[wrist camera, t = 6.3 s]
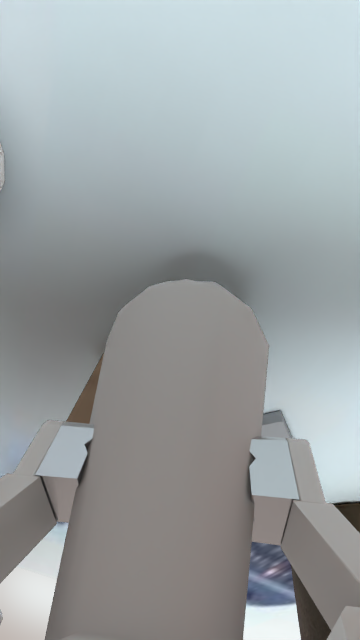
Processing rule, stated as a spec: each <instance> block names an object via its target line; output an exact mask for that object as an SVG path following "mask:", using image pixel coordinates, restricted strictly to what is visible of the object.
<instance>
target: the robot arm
mask: <svg viewBox="0 0 360 640" xmlns="http://www.w3.org/2000/svg"><path fill="white" fill-rule="evenodd" d="M93 432H94V424H86V423H76V422H65V421H54V420H47V421H46V422H45V423H44V424H43V425H42V426H41V428H40V429H39V431H38V433H37V434H36V436H35V438H34V439H33V441H32V443H31V444H30V446H29V448H28V449H27V451H26V453H25V454H24V456H23V458H22V459H21V461H20V463H19V464H18V466H17V468H16V469H15V471H14V473H13V474H6V475H4V476H3V477H2V478H0V583H1V582H2V581H3V580H4V579H5V578H6V577H7V576H8V575H9V574H10V573H11V572H12V570H13V569H14V568H15V567H16V566H17V565H18V564H19V563H20V562H21V561H22V560H23V559H24V558H25V557H26V556H27V555H28V554H29V553H30V551H31V550H32V549H33V548H34V547H35V546H36V545H37V544H38V543H39V542H40V541H41V540H42V539H43V538H44V537H45V536H46V535H47V534H48V533H49V531H50V530H51V529H52V528H53V527H54V526H55V525H56V524H57V522H69V520H70V515H71V510H72V505H73V501H74V496H75V491H76V489H77V488H78V487H79V485H80V482H81V479H82V475H83V472H84V469H85V465H86V462H87V459H88V453H87V449H88V447H89V445H90V443H91V441H92V438H93ZM250 454H251V456H252V459H253V463H252V464H251V465H250V467H249V478H250V499H251V502H252V503H253V504H254V505H255V509H254V520H253V531H252V542H259V543H267V544H274V545H281V549H282V550H283V552H284V554H285V555H286V557H287V559H288V560H289V562H290V563H291V565H292V567H293V568H294V570H295V572H296V573H297V575H298V577H299V578H300V580H301V582H302V583H303V585H304V586H305V588H306V590H307V591H308V593H309V595H310V596H311V598H312V600H313V601H314V603H315V605H316V606H317V608H318V610H319V611H320V613H321V614H322V616H323V618H324V619H325V621H326V623H327V624H328V626H329V628H330V629H331V633H330V635H329V636H328V638H327V640H360V533H359V532H358V531H357V530H356V529H355V528H354V527H353V526H352V524H351V523H350V522H349V521H348V520H347V519H346V518H345V517H344V516H343V515H342V514H341V512H340V511H339V510H338V509H337V508H336V507H335V506H334V505H333V504H330V503H326V502H325V498H324V494H323V491H322V487H321V484H320V480H319V476H318V473H317V469H316V465H315V462H314V458H313V455H312V451H311V447H310V444H309V442H308V441H307V440H304V439H291V438H286V439H285V438H281V437H265V436H256V437H254V438H252V440H251V445H250ZM56 521H57V522H56ZM2 619H3V617H2V613H1V610H0V624H1V621H2Z"/></svg>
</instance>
